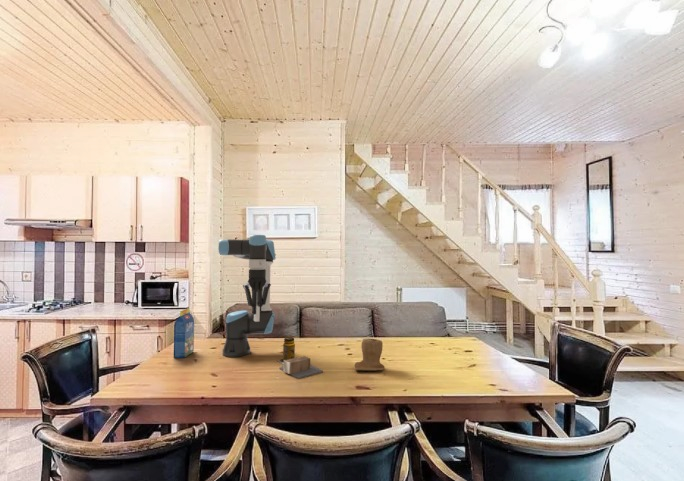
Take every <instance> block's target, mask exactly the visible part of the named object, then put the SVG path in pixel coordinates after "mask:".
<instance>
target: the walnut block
mask: <svg viewBox="0 0 684 481" xmlns="http://www.w3.org/2000/svg"><path fill="white" fill-rule="evenodd" d="M310 365H311V358H310V357H308V356H305V355H303V356H299V357H295V358H293V359H289V360H284V364H282V367H283V370H282V371H283V372H284V373H285V374H288V375H290V374H291V373H295V372H299V371H303V370H307V369H310Z"/></svg>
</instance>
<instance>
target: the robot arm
mask: <svg viewBox="0 0 684 481" xmlns="http://www.w3.org/2000/svg"><path fill="white" fill-rule="evenodd" d="M217 249H218V253H219V255H221V256H233V257H235V258H236V259H237V258H238V259H241V260H248V280H247V282H246V284H243V285H242V287H243V289H244V293H245V295H246V300H247V301H246V303H247V305H248V306H250V307H252V309H251V313H250V312H249V311H248V310H237V311H233V312H229V313H228V314H227V315H226V320H225V342H224V345H223V348H222V356H225V357H229V358H230V357H231V358H236V357H237V358H238V357H243V356H247V355H249V354H250V353H251V345H250V343H249V340H248V339H249V338H248V335H264V334H265V335H266V334H267V335H268V334H271V333H273V328H274V323H275V322H274V320H275V315H276V313H275V312H273V308H271V306H270V305H271V286H272V284H271V266H272V265H273V263H274V261H275V260H276V252H275V251H276V250H275V241H273V240H272V239H270V240H269V239H267V237H266V235H265V234H251V235H249V238H248V239H234V238H233V239H228V238H225V239H220V240H219V241H218V248H217ZM250 288H251V290H250Z"/></svg>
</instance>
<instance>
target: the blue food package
mask: <svg viewBox="0 0 684 481" xmlns="http://www.w3.org/2000/svg"><path fill="white" fill-rule="evenodd" d="M173 327H174V328H173V358H174V359H184V358H186V357H188V356H190V355H191V354H192V353H194V351H195V350H194V349H195V347H194V346H195V319H194V317H193V315H192V314H191V313H190V307H188V308H186V309H183V310H180V311H179V317H178V318H177V319H176V320H175V321H174V324H173Z"/></svg>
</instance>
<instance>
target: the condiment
mask: <svg viewBox="0 0 684 481" xmlns="http://www.w3.org/2000/svg"><path fill="white" fill-rule="evenodd" d="M283 340H284V341H283V346H282V347H283V348H282V350H283V352H282V359H278V360H277V362H279V363H280V364H282V365H283V364H284V360H289V359H293V358H296V356H295V355H296V353H295V352H296V348H295V347H296V343H295V338H294V337H292V336H291V337H290V336H287V337H284V339H283Z"/></svg>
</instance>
